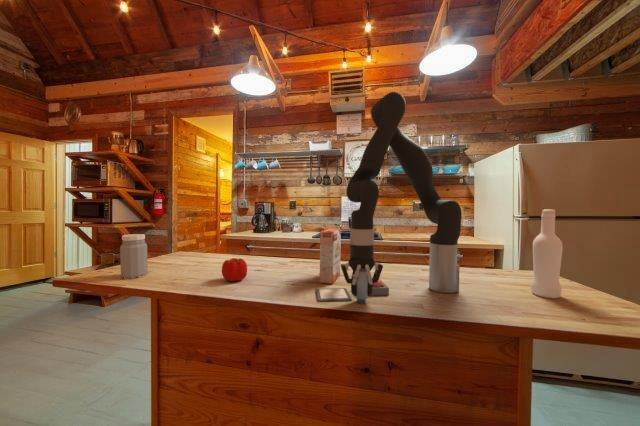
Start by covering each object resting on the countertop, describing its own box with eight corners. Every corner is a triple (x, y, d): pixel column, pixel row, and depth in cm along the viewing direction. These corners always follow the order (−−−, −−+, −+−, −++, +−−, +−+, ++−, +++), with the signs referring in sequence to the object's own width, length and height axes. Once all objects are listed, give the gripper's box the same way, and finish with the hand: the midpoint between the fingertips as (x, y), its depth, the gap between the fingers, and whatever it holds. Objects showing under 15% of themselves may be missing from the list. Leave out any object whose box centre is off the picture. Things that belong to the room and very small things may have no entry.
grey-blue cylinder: (366, 299, 86) (366, 265, 86) (369, 304, 82) (369, 268, 82) (353, 299, 86) (353, 265, 86) (356, 304, 82) (356, 269, 81)
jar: (114, 278, 109) (113, 236, 108) (134, 272, 119) (133, 233, 118) (134, 279, 108) (133, 236, 107) (153, 273, 117) (152, 234, 117)
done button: (379, 285, 96) (379, 278, 96) (383, 288, 92) (383, 281, 92) (369, 285, 95) (369, 278, 95) (372, 289, 91) (372, 282, 91)
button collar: (382, 288, 97) (382, 281, 97) (388, 295, 90) (388, 288, 90) (364, 288, 97) (364, 282, 97) (369, 295, 90) (369, 288, 90)
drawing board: (345, 289, 96) (345, 287, 96) (351, 300, 85) (351, 298, 85) (316, 290, 95) (316, 288, 95) (318, 301, 84) (318, 299, 84)
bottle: (532, 289, 97) (534, 209, 95) (561, 295, 91) (565, 209, 90) (529, 294, 91) (531, 209, 90) (560, 301, 85) (563, 209, 84)
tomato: (228, 276, 113) (228, 256, 113) (252, 277, 112) (252, 257, 112) (215, 283, 103) (215, 261, 103) (241, 284, 102) (241, 262, 101)
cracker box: (333, 284, 102) (333, 231, 101) (319, 283, 104) (319, 231, 103) (341, 275, 115) (341, 228, 114) (328, 274, 117) (328, 227, 116)
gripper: (379, 240, 88) (379, 290, 88) (338, 241, 87) (337, 291, 87) (387, 244, 80) (386, 299, 81) (341, 244, 79) (341, 300, 80)
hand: (361, 295), depth 84 cm, fingers closed on grey-blue cylinder, 4 cm apart
